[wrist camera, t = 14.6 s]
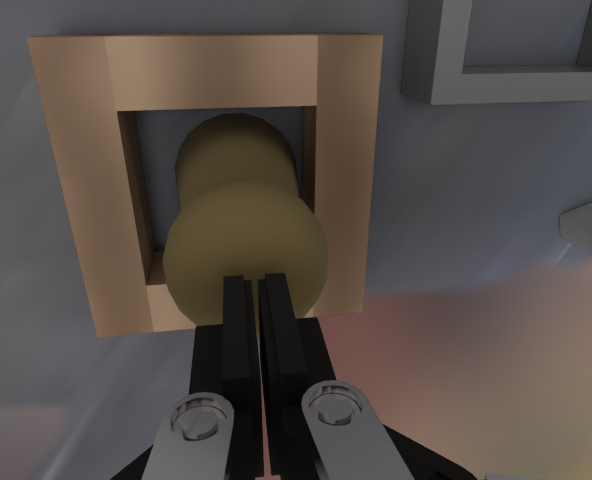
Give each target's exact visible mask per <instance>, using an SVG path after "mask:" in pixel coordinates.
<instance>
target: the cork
mask: <svg viewBox="0 0 592 480" xmlns="http://www.w3.org/2000/svg"><path fill="white" fill-rule="evenodd" d="M175 173H176V182H177V189H178V195H179V201H180V208H181V212H180V213H179V215H178V216H177V218H176V219H175V221H174V222H173V224H172V225H171V227H170V230H169V233H168V237H167V242H166V246H165V250H164V255H163V266H164V273H165V280H166V284H167V288H168V291H169V293H170V294H171V296H172V298H173V300H174V302H175V303H176V305H177V307H178V309H179V310H180V311H181V312H182V313H183V314H184V315H185V316H186V317H187V318H188V319H190V320H191V321H192V322H193V323H194V324H195V325H196V326H202V325H215V324H223V277H224V276H237V275H243V278H244V280H252V291H253V301H254V312H255V322H256V333H257V340H259V339H260V335H259V306H258V279H265V274H270V273H285V275H286V279H287V284H288V288H289V292H290V297H291V301H292V305H293V310H294V314H295V318H304V316H305V315H306V314H307V313H308V312H309V310H310V309H311V308H312V307H313V305H314V304H315V303H316V302H317V300H318V299H319V298H320V295H321V293H322V290H323V288H324V285H325V282H326V280H327V272H328V245H327V242H326V239H325V236H324V233H323V230H322V227H321V224H320V223H319V221H318V219H317V218H316V216H315V215H314V214H313V213H312V211H311V210H310V209H309V207H308V206H307V205H306V204H305V202H304V201H303V200H302V199H300V198H299V195H298V184H297V172H296V162H295V159H294V156H293V153H292V150H291V147H290V145H289V143H288V142H287V141H286V140H285V138H284V137H283V136H282V134H281V133H280V132H279V130H278V129H276V128H275V127H273V126H272V125H270V124H269V123H267V122H266V121H265V120H263V119H261V118H257V117H254V116H251V115H247V114H244V113H237V114H222V115H219V116H216V117H213V118H211V119H208V120H205V121H203V122H202V123H201V124H200V125H199V126H197V127H196V128H195V129H194V130H192V131H191V132H190V133H189V134H188V136H187V137H186V139H185V140H184V142H183V144H182V145H181V147H180V149H179V151H178V156H177V160H176V165H175Z"/></svg>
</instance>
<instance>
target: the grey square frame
mask: <svg viewBox="0 0 592 480" xmlns="http://www.w3.org/2000/svg"><path fill="white" fill-rule="evenodd" d="M472 2H473V0H410V2H409V12H408V23H407V33H406V44H405V54H404V65H403V76H402V86H401V94H404V95H406V96H409V97H411V98H414V99H417V100H419V101H422V102H424V103H427V104H430V105H446V104H482V103H518V102H553V101H589V100H592V5H591V9H590V13H589V17H588V21H587V25H586V29H585V33H584V37H583V41H582V45H581V49H580V53H579V57H578V61H577V65H520V66H463V62H464V56H465V49H466V42H467V35H468V29H469V22H470V15H471V8H472Z"/></svg>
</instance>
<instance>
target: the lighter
mask: <svg viewBox="0 0 592 480" xmlns="http://www.w3.org/2000/svg"><path fill="white" fill-rule="evenodd" d="M560 232H561V237H562V238H564V239H565V240H567V241H569V242H570V243H572V244H573V245H575V246H577V247H578V248H580V249H581V250H583V251H585V252H586V253H588V254H589V255H591V256H592V202H591V203H589V204H586V205H583V206H581V207H578V208H576V209H573V210H570V211H568V212H565V213H562V214H561V216H560Z"/></svg>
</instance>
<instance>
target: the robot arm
mask: <svg viewBox="0 0 592 480" xmlns="http://www.w3.org/2000/svg"><path fill="white" fill-rule="evenodd" d="M258 306H259V335H260V362H261V374H262V385H263V395H264V404H265V415H266V426H267V436H268V446H269V456H270V466H271V475H272V476H273V475H280V477H281V480H547V479H537V478H527V477H516V476H506V475H496V474H486V475H485V478H484V479H478V478H476V477H475V476H474V475H473V474H472V473H470V472H469V471H467V470H466V469H464V468H463V467H461V466H459V465H458V464H456V463H454V462H452V461H450V460H448V459H446V458H444V457H443V456H441V455H439V454H437V453H435V452H434V451H432V450H430V449H428V448H426V447H424V446H423V445H421V444H419V443H417V442H415V441H413V440H411V439H410V438H408V437H406V436H404V435H402V434H400V433H398V432H397V431H395V430H393V429H391V428H389V427H387V426H385V425H384V424H382V423H381V421H380V419H379V418H378V416H377V415H376V412H375V411H374V409H373V407H372V406H371V404H370V402H369V400H368V399H367V397H366V396H365V395H364V393H363V392H362V391H361V390H360V389H358V388H357V387H355V386H354V385H351V384H349V383H347V382H344V381H337V380H336V377H335V374H334V371H333V367H332V364H331V361H330V357H329V354H328V351H327V348H326V344H325V341H324V338H323V334H322V331H321V328H320V325H319V321H318V319H317V317H308V318H295V314H294V310H293V305H292V301H291V297H290V292H289V288H288V284H287V279H286V275H285V273H270V274H265V279H258ZM256 477H264V461H263V431H262V402H261V378H260V365H259V354H258V344H257V333H256V322H255V312H254V301H253V291H252V280H244V278H243V275H237V276H224V277H223V324H215V325H202V326H196V330H195V339H194V349H193V359H192V368H191V378H190V388H189V395H187V396H184V397H183V398H181V399H179V400H178V401H176V402H175V403H174V404H173V405H172V406H171V407H170V408H169V409H168V410H167V412H166V414H165V415H164V417H163V420H162V423H161V425H160V428H159V431H158V434H157V437H156V440H155V442H154V445H152V446H151V447H150V448H149V449H147V450H146V451H145V452H144V453H142V454H141V455H140V456H139V457H137V458H136V459H135V460H134V461H132V462H131V463H130V464H129V465H127V466H126V467H125V468H124V469H123V470H121V471H120V472H119V473H118V474H116V475H115V476H114V477H113V478H111V479H110V480H255V478H256Z"/></svg>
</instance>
